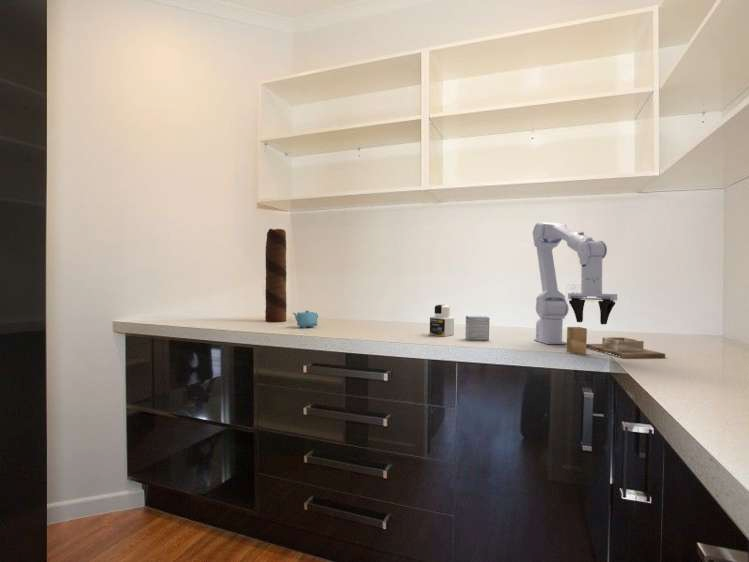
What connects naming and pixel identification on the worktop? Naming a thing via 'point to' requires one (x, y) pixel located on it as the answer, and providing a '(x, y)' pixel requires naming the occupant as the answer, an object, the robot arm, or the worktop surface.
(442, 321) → the medicine bottle
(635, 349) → the walnut board
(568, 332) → the oak peg
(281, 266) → the wafer roll
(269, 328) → the worktop surface
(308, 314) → the teapot
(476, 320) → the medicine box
